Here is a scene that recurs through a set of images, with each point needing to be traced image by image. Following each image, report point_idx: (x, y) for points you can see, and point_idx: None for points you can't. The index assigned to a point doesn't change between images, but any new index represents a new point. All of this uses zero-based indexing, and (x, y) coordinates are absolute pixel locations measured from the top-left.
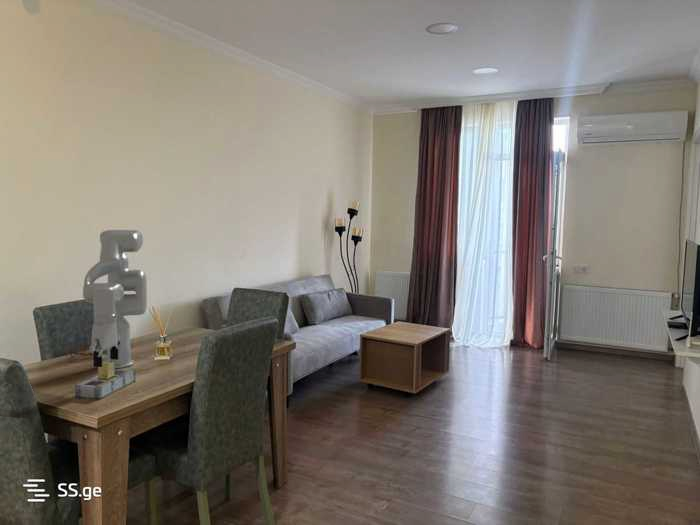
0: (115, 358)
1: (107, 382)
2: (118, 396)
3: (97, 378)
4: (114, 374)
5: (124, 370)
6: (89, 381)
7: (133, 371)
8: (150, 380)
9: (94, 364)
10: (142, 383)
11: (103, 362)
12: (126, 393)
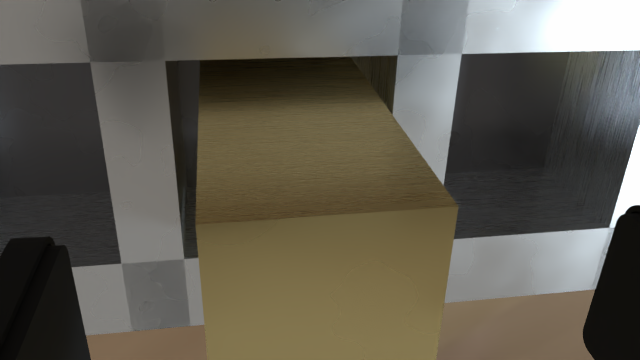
0: (599, 325)
1: (91, 310)
2: (101, 342)
3: (216, 57)
4: (444, 169)
5: (633, 173)
6: (23, 46)
7: (592, 286)
8: (587, 309)
9: (5, 279)
10: (499, 300)
11: (292, 291)
12: (201, 349)
